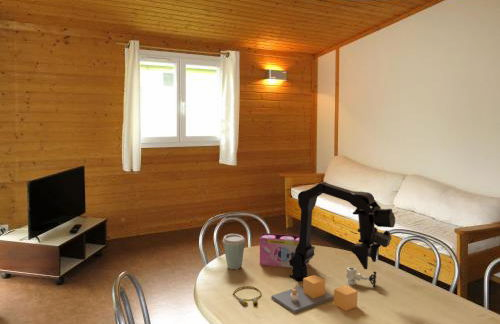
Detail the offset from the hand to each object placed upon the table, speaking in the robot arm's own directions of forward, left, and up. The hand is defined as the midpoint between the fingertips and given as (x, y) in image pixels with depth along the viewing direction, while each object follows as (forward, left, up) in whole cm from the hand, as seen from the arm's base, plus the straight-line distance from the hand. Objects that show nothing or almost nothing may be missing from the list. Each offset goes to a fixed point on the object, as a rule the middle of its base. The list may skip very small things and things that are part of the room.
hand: (370, 265), depth 154 cm
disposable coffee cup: (-56, -28, -14) cm, 64 cm away
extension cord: (-28, -39, -14) cm, 50 cm away
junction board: (-14, -22, -13) cm, 29 cm away
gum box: (-46, -6, -14) cm, 49 cm away
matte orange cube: (-1, -12, -13) cm, 18 cm away
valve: (-10, +7, -14) cm, 19 cm away
